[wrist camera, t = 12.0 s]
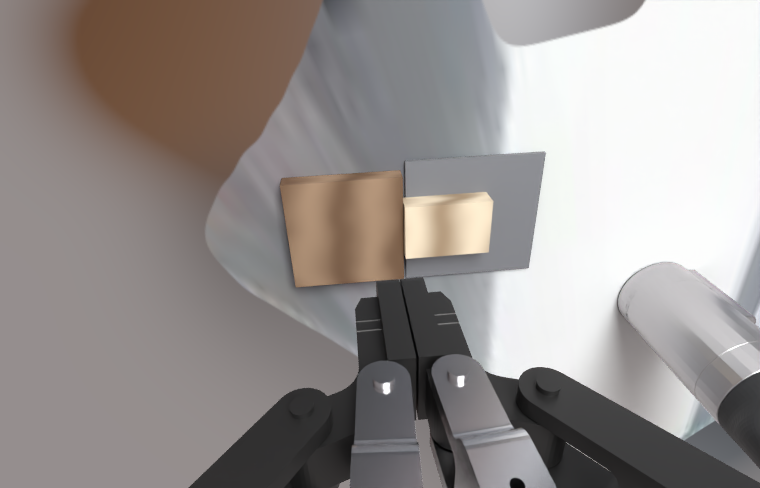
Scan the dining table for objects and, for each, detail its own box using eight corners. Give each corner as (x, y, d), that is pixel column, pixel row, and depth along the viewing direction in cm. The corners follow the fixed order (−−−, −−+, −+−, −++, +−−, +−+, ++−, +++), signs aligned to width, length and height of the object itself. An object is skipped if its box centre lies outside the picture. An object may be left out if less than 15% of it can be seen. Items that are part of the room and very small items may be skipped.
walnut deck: (400, 170, 46) (402, 177, 44) (401, 269, 52) (403, 278, 50) (281, 178, 46) (279, 185, 44) (297, 277, 51) (295, 287, 50)
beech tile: (486, 191, 48) (493, 201, 46) (482, 241, 51) (488, 252, 49) (401, 197, 47) (405, 207, 45) (402, 247, 50) (405, 259, 48)
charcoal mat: (544, 151, 47) (545, 152, 46) (527, 266, 53) (528, 267, 53) (404, 160, 46) (405, 162, 45) (405, 275, 53) (406, 277, 52)
